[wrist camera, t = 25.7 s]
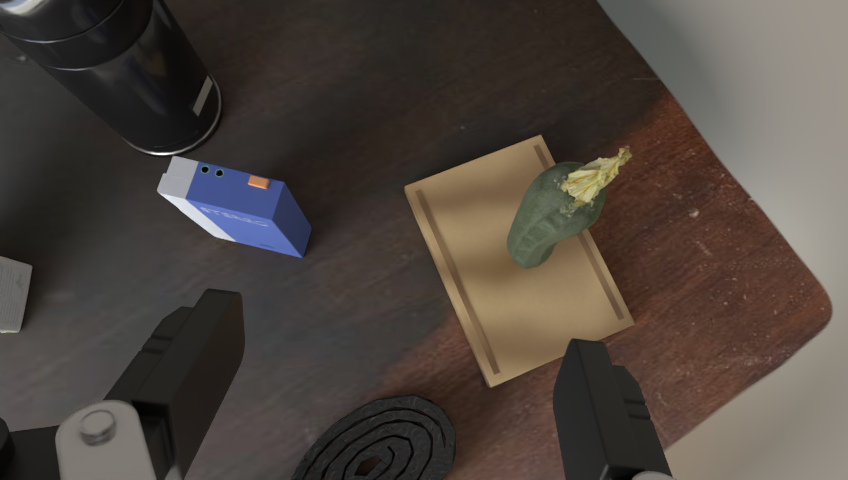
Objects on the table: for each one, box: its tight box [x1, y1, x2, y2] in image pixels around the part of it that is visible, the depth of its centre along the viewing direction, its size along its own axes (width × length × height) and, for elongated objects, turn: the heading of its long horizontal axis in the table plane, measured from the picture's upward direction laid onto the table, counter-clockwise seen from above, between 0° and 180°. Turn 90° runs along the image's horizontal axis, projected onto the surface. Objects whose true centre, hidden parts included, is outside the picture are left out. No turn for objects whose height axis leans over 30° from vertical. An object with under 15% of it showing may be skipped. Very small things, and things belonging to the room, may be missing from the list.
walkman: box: [157, 156, 312, 258], centre depth 42 cm, size 8×3×12 cm, turn 76°
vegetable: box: [507, 148, 632, 269], centre depth 37 cm, size 4×4×20 cm
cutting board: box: [405, 135, 635, 387], centre depth 47 cm, size 18×13×2 cm
